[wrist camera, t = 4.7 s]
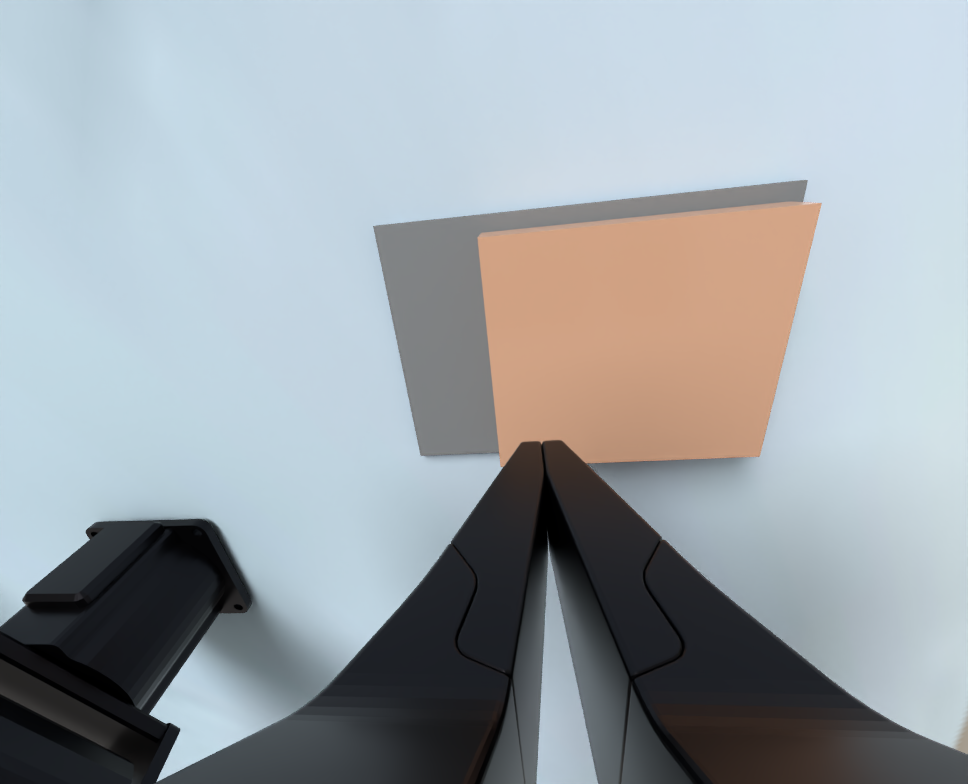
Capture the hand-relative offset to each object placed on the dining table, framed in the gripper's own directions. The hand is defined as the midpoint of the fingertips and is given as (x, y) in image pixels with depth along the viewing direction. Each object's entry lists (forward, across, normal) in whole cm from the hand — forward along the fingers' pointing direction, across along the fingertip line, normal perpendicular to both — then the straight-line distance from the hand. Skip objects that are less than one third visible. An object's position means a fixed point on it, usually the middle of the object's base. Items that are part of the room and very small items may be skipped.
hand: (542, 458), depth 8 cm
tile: (+6, +1, 0) cm, 6 cm away
